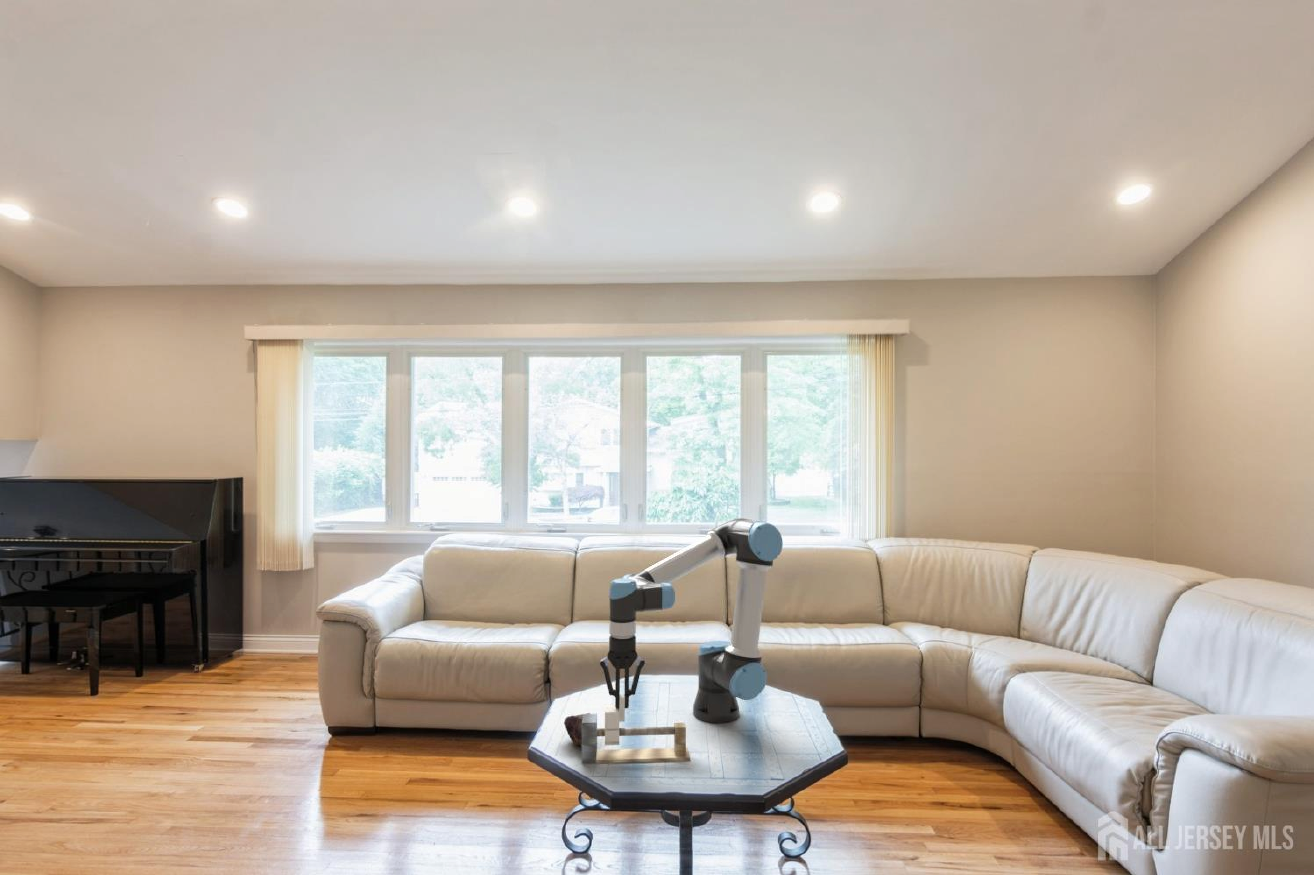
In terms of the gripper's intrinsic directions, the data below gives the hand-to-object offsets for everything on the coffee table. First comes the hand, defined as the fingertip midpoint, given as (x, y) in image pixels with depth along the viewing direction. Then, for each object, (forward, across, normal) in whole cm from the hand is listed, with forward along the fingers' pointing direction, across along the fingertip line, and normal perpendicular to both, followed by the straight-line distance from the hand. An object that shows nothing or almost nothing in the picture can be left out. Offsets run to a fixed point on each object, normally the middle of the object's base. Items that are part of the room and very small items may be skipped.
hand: (621, 719), depth 175 cm
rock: (+11, +12, -10) cm, 19 cm away
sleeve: (+6, +3, 0) cm, 6 cm away
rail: (+10, -4, 0) cm, 11 cm away
